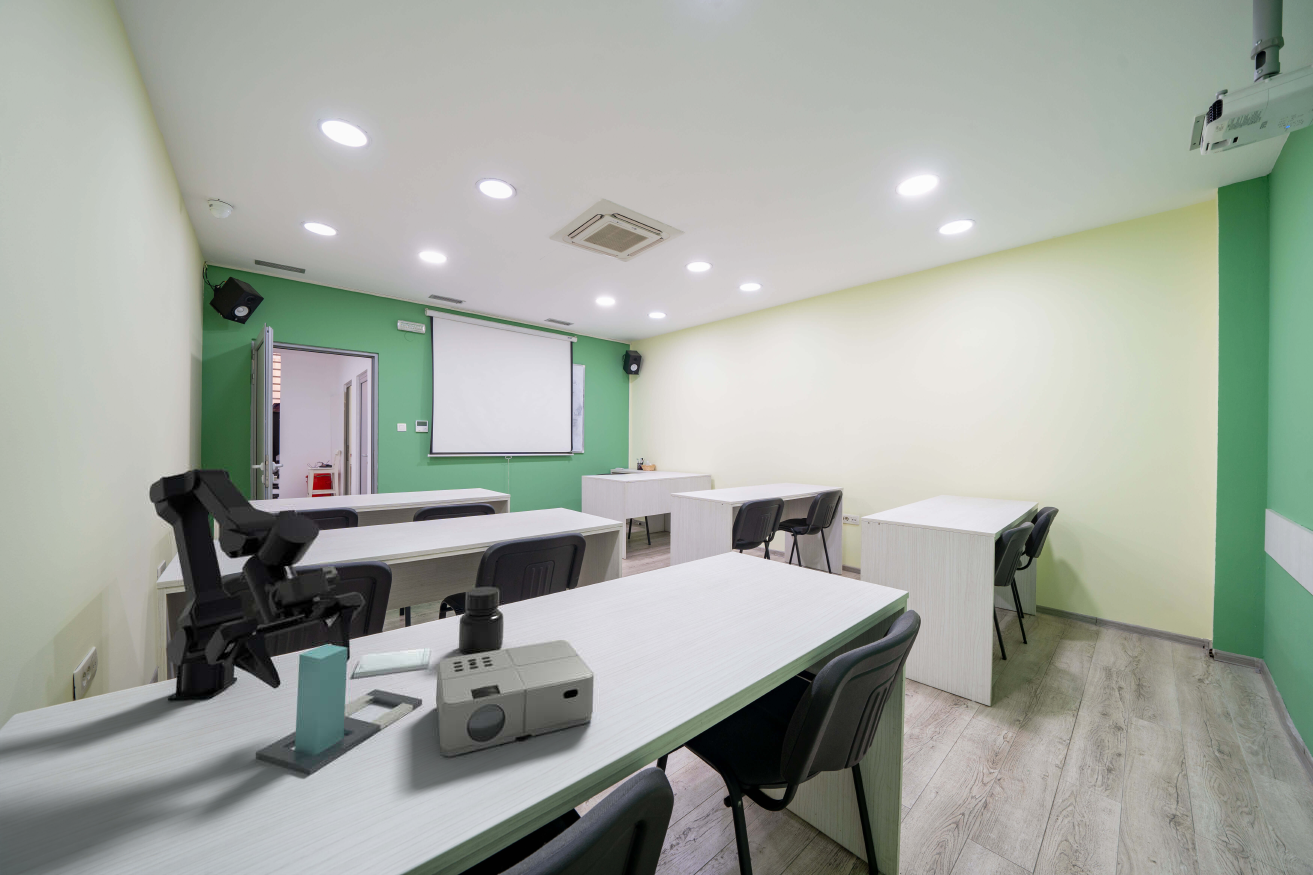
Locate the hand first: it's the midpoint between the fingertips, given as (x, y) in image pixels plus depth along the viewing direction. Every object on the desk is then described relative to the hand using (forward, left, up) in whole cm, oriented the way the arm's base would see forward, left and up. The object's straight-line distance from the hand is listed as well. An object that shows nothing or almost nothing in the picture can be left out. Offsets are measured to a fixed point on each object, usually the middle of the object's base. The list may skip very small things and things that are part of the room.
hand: (314, 672), depth 68 cm
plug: (+2, -1, -10) cm, 10 cm away
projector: (+27, +3, -10) cm, 29 cm away
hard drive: (+3, +25, -10) cm, 28 cm away
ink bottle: (+18, +31, -10) cm, 37 cm away
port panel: (+4, +3, -9) cm, 11 cm away
